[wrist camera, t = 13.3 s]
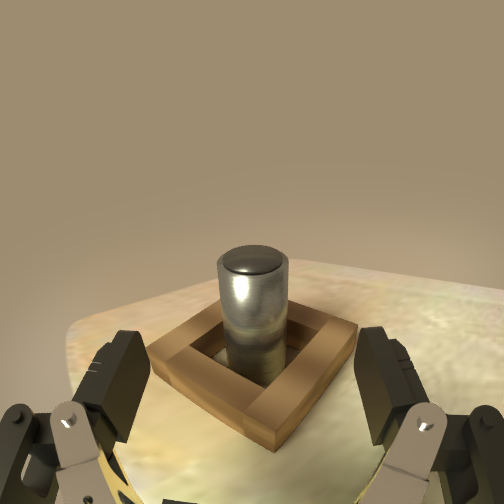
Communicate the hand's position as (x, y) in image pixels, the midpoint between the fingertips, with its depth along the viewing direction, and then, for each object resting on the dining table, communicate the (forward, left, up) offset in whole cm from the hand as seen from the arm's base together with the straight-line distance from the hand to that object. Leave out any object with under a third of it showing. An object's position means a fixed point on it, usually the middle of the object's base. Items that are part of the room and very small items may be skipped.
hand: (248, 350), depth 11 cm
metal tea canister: (-8, -6, -12) cm, 16 cm away
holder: (-9, -6, -12) cm, 16 cm away
